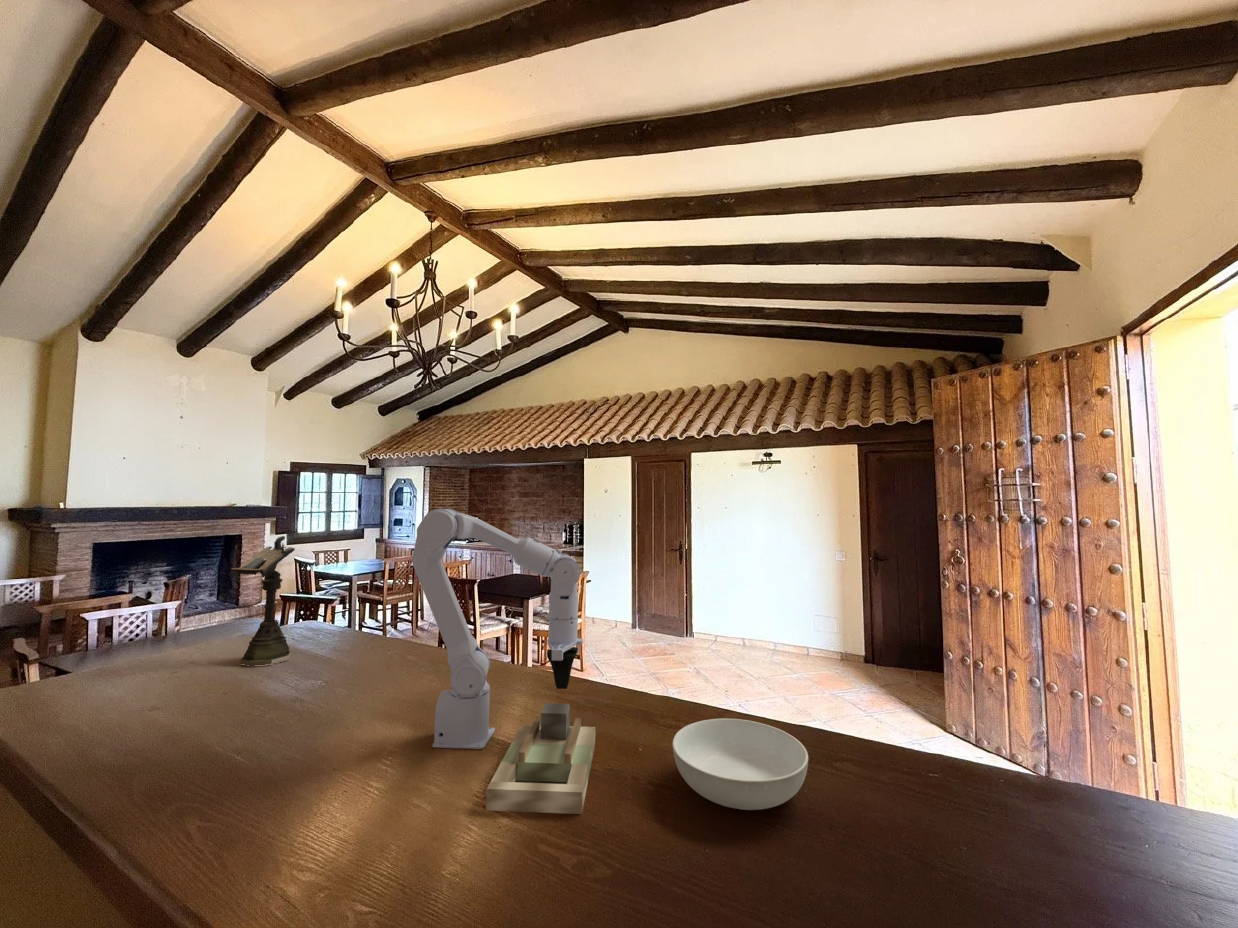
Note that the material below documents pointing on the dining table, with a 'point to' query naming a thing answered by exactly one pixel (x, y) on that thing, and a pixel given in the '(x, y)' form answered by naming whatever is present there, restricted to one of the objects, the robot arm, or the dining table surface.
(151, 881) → the dining table surface
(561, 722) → the charcoal block
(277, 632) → the lectern
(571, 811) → the railed deck
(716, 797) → the serving bowl
